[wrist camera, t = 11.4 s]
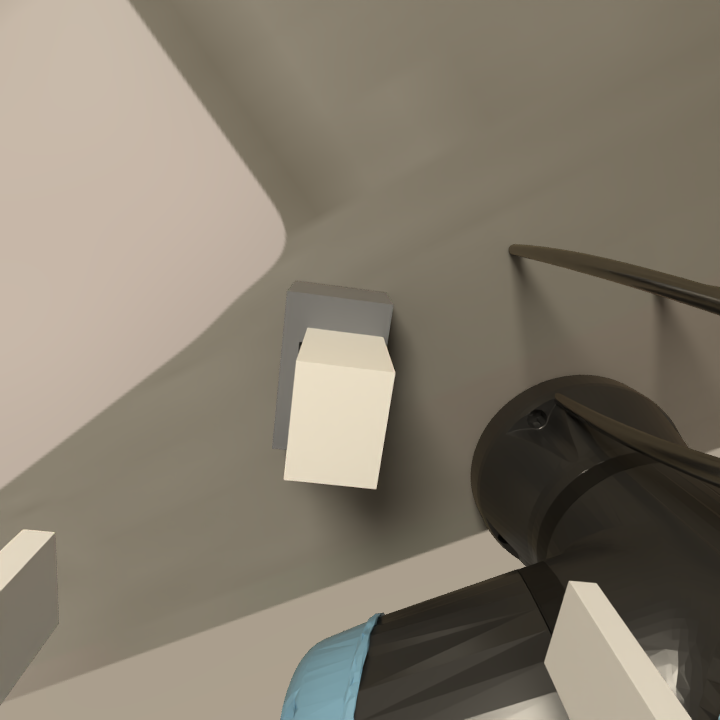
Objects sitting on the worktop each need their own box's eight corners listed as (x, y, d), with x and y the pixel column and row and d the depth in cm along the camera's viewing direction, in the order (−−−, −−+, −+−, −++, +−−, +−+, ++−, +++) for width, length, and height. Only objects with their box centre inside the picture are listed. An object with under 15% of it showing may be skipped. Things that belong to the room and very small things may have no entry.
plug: (377, 320, 33) (395, 372, 22) (365, 401, 35) (376, 489, 23) (312, 312, 33) (295, 360, 21) (303, 394, 34) (283, 479, 23)
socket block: (386, 292, 33) (393, 304, 28) (365, 426, 35) (369, 458, 31) (295, 280, 32) (286, 290, 28) (281, 417, 35) (272, 448, 30)
